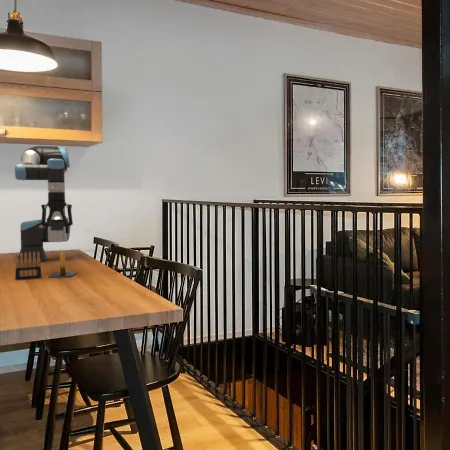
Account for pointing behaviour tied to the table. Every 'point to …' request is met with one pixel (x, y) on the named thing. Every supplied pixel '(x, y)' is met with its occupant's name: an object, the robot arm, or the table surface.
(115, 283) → the table surface
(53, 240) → the grey square block
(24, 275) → the ammunition clip
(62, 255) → the keeper
